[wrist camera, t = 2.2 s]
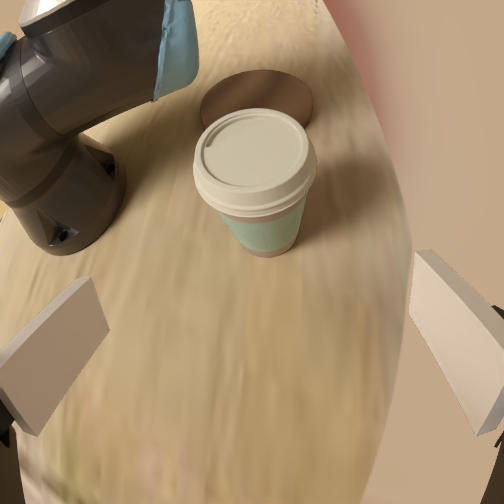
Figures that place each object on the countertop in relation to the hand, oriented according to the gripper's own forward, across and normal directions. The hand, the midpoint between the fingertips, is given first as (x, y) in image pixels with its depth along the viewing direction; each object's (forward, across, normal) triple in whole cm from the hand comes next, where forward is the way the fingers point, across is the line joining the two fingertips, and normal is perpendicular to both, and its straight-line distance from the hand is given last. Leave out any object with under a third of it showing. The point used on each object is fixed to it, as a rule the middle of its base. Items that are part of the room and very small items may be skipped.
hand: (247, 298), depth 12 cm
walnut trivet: (+31, 0, +9) cm, 32 cm away
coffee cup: (+19, 0, -3) cm, 19 cm away
